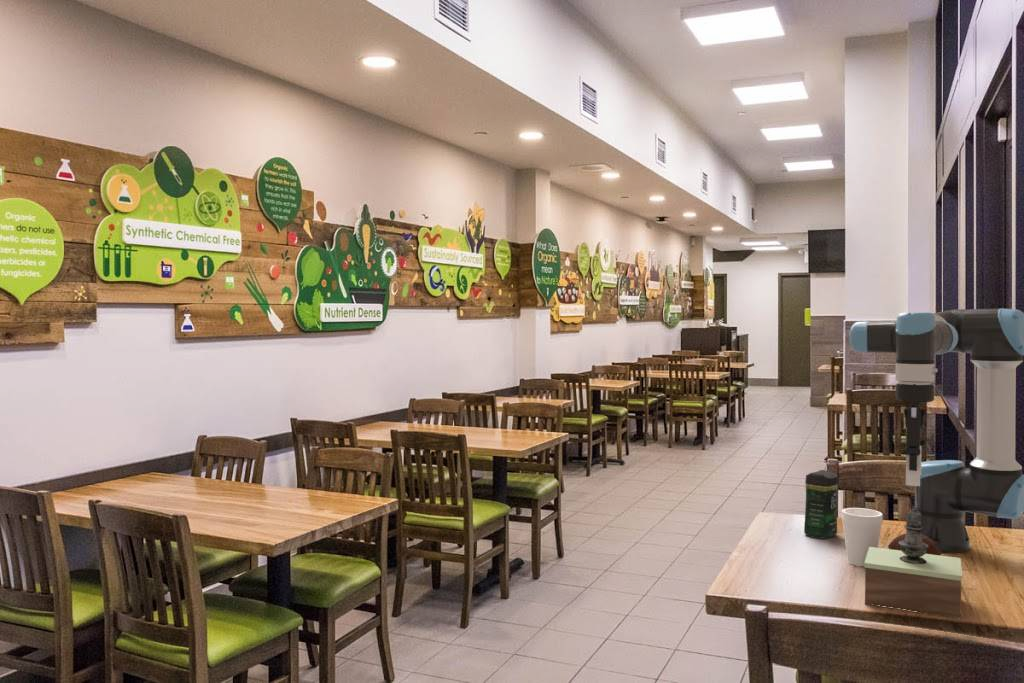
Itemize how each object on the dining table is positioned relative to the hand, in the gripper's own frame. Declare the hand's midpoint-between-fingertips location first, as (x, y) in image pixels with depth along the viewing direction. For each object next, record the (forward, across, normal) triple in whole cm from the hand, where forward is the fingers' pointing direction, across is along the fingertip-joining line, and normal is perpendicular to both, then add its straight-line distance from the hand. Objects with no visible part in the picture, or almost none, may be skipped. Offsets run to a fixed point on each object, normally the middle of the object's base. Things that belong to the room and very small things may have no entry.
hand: (913, 479), depth 171 cm
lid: (+19, 0, 0) cm, 19 cm away
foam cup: (+27, +24, +12) cm, 38 cm away
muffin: (+27, +19, 0) cm, 33 cm away
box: (+27, -1, 0) cm, 27 cm away
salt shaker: (+18, -1, 0) cm, 18 cm away
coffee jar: (+27, +47, +24) cm, 59 cm away
